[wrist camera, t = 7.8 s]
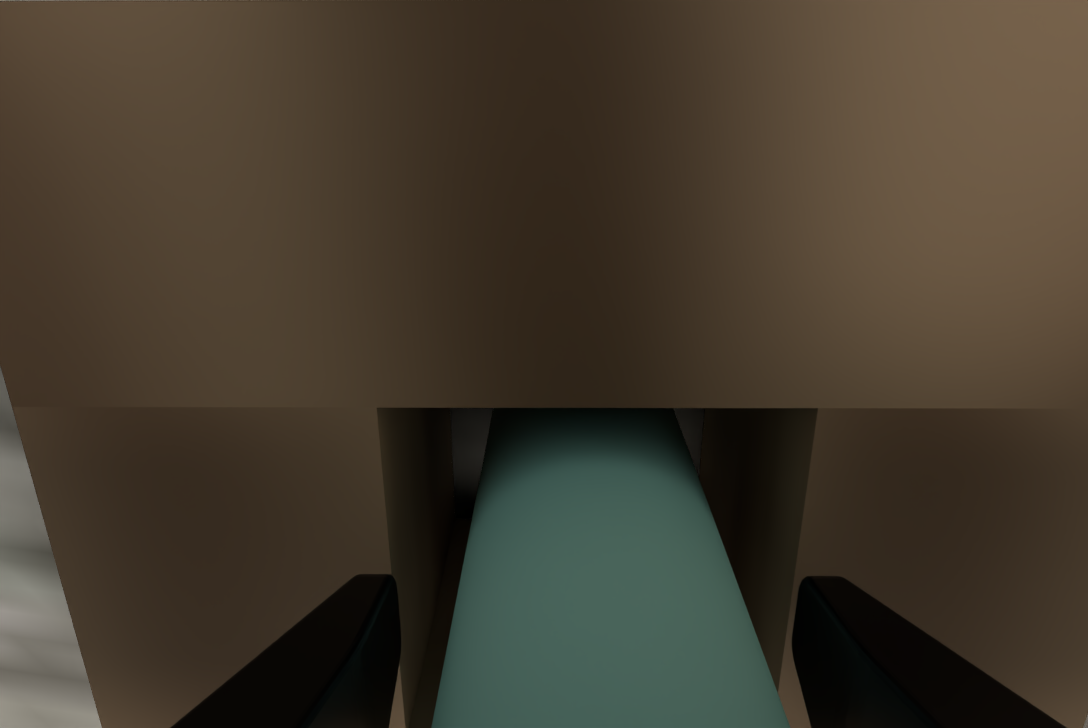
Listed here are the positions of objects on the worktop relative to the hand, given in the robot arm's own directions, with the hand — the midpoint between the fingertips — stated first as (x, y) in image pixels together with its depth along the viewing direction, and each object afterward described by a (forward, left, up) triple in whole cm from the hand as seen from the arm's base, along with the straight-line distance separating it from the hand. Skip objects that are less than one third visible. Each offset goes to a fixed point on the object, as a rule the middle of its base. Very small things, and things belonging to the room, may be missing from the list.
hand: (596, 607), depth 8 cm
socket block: (0, 0, -5) cm, 5 cm away
